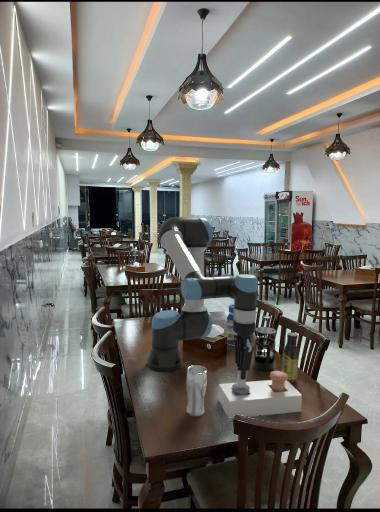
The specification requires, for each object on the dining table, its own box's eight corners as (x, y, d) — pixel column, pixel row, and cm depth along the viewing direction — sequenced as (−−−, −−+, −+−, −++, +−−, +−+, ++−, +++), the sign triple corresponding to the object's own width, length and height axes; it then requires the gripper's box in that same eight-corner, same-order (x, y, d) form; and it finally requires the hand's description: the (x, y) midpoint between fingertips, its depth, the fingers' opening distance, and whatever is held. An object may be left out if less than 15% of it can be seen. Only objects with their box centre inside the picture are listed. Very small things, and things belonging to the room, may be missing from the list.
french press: (278, 372, 154) (281, 320, 151) (257, 372, 152) (260, 320, 149) (268, 360, 165) (271, 312, 162) (248, 361, 164) (251, 312, 161)
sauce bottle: (279, 376, 150) (282, 330, 147) (294, 376, 149) (297, 331, 147) (282, 383, 143) (286, 336, 141) (298, 384, 143) (302, 336, 140)
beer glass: (184, 406, 125) (185, 365, 123) (204, 405, 125) (205, 364, 123) (185, 417, 118) (187, 374, 116) (206, 417, 118) (208, 374, 116)
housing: (229, 418, 118) (229, 401, 117) (218, 399, 129) (219, 384, 129) (300, 411, 123) (302, 395, 123) (284, 394, 135) (285, 378, 134)
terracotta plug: (273, 396, 124) (274, 379, 123) (266, 388, 130) (267, 371, 129) (289, 395, 125) (290, 377, 124) (281, 387, 131) (282, 370, 130)
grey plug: (234, 410, 121) (235, 392, 120) (229, 400, 127) (229, 383, 126) (251, 408, 123) (252, 390, 122) (245, 399, 128) (245, 382, 128)
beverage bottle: (245, 344, 184) (247, 306, 181) (232, 347, 179) (234, 309, 177) (234, 339, 191) (236, 303, 188) (222, 342, 186) (223, 304, 184)
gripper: (262, 326, 115) (258, 395, 118) (247, 314, 128) (244, 377, 131) (240, 327, 114) (237, 397, 117) (227, 315, 126) (225, 378, 129)
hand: (241, 386), depth 124 cm, fingers closed
